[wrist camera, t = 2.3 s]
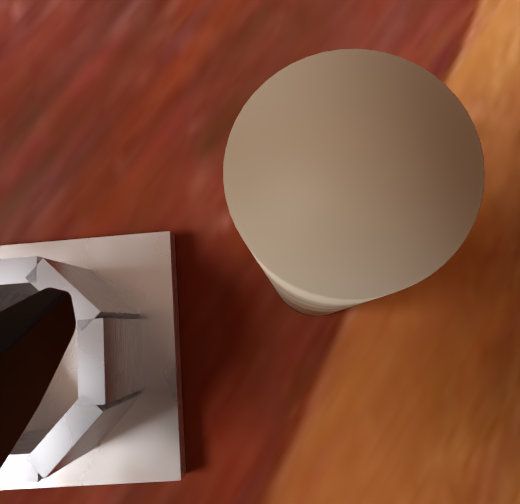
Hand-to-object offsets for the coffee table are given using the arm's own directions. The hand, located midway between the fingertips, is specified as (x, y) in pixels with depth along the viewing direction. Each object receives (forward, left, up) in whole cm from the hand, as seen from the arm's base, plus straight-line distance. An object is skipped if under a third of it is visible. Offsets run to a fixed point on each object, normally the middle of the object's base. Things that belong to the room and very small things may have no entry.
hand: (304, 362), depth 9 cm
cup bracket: (0, +9, -10) cm, 14 cm away
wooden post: (+3, -1, -10) cm, 10 cm away
